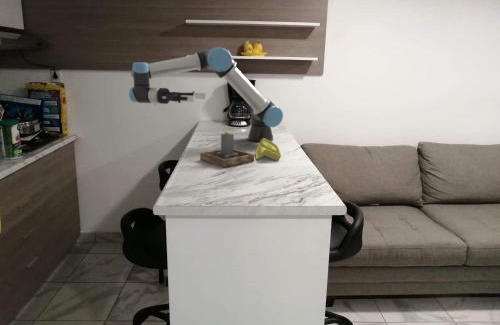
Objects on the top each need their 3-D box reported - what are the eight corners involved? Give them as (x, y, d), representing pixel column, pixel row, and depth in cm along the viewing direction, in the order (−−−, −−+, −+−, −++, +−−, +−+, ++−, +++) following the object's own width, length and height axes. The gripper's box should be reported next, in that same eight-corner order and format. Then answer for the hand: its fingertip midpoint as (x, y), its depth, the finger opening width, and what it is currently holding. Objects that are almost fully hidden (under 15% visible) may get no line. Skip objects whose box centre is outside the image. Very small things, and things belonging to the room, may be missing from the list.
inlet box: (229, 154, 196) (229, 147, 195) (254, 161, 184) (254, 153, 183) (200, 160, 184) (200, 152, 183) (224, 168, 172) (224, 159, 171)
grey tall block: (227, 157, 187) (227, 131, 183) (233, 159, 184) (233, 132, 181) (221, 159, 184) (221, 131, 181) (226, 160, 181) (226, 133, 178)
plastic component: (281, 156, 185) (263, 147, 183) (274, 169, 187) (256, 160, 185) (277, 144, 204) (260, 136, 202) (270, 156, 206) (254, 148, 204)
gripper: (172, 100, 202) (210, 102, 197) (147, 106, 179) (189, 108, 173) (171, 86, 200) (210, 87, 195) (146, 89, 177) (188, 91, 171)
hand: (200, 97), depth 184 cm, fingers open, 13 cm apart
